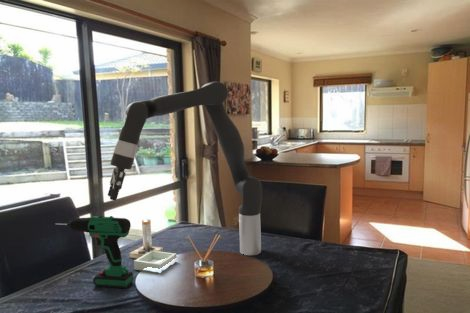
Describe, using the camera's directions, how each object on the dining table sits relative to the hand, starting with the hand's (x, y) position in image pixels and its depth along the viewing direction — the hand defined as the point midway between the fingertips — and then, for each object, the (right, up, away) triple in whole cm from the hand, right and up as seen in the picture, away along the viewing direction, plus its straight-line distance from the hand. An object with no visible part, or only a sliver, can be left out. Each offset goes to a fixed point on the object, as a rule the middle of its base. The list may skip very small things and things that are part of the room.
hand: (111, 198), depth 132 cm
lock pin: (+6, -28, +29) cm, 41 cm away
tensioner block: (+6, -28, +28) cm, 40 cm away
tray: (+13, -29, +16) cm, 35 cm away
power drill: (-6, -31, +1) cm, 32 cm away
